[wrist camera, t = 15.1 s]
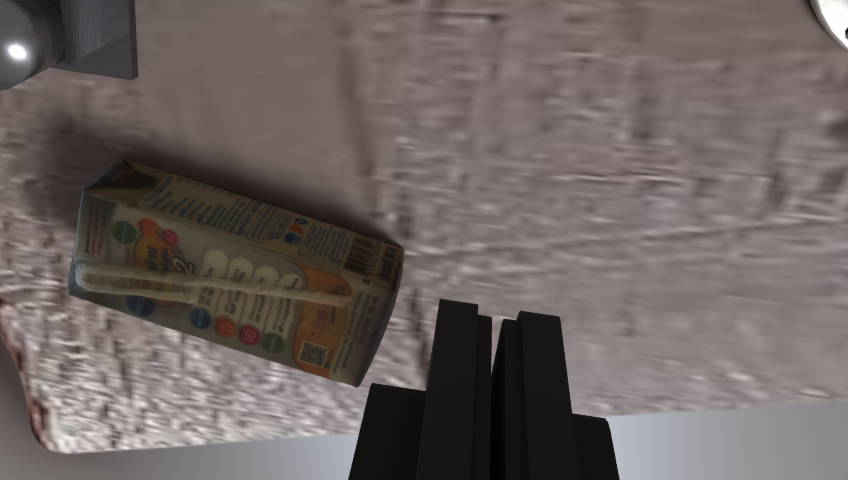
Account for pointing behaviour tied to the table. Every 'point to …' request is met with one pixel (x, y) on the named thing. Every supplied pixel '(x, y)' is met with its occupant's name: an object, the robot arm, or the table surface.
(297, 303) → the beverage carton
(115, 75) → the grey pedestal base
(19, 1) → the swing bar
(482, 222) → the table surface
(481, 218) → the table surface
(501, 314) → the table surface
